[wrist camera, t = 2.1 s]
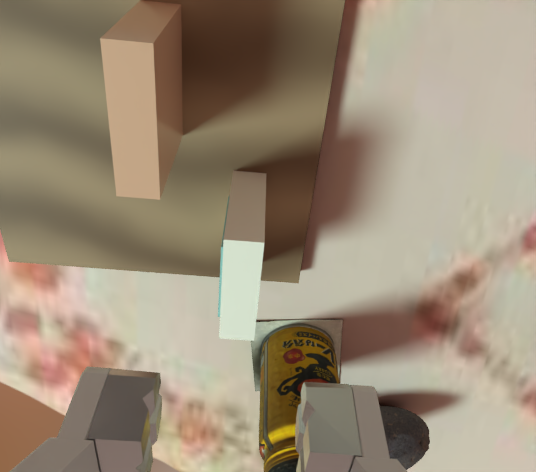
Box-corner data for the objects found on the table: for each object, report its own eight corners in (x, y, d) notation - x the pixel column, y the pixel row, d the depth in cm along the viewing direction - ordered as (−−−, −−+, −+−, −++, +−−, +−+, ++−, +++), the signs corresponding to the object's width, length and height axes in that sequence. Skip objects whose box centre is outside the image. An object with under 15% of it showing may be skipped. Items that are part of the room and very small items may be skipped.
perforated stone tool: (418, 384, 44) (439, 460, 38) (424, 419, 47) (444, 494, 41) (254, 411, 46) (251, 485, 41) (269, 443, 49) (268, 516, 44)
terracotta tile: (137, 0, 25) (96, 38, 19) (181, 4, 25) (153, 43, 19) (145, 132, 29) (113, 195, 23) (182, 135, 29) (160, 199, 23)
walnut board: (-65, -59, 24) (-79, -56, 23) (344, -18, 25) (347, -13, 24) (16, 250, 35) (9, 261, 34) (297, 272, 36) (298, 283, 35)
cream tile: (230, 170, 30) (220, 239, 24) (266, 173, 30) (264, 242, 24) (226, 261, 34) (216, 338, 28) (257, 263, 34) (253, 340, 29)
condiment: (342, 317, 39) (364, 465, 29) (338, 386, 44) (356, 532, 34) (249, 319, 39) (240, 466, 30) (255, 388, 44) (249, 533, 34)
